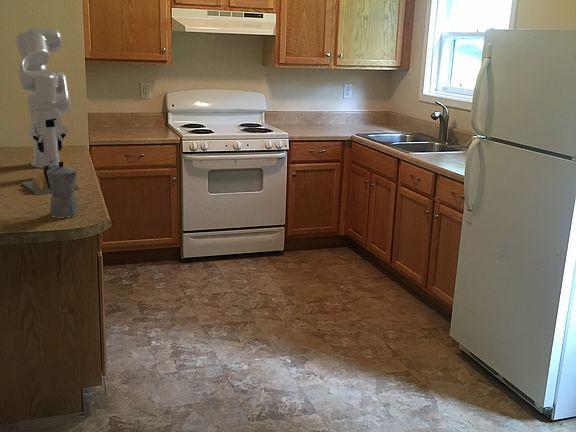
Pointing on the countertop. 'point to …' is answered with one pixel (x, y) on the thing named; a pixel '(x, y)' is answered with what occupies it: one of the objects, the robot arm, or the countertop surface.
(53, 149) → the travel mug
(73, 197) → the coffeepot
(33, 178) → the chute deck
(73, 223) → the countertop surface
